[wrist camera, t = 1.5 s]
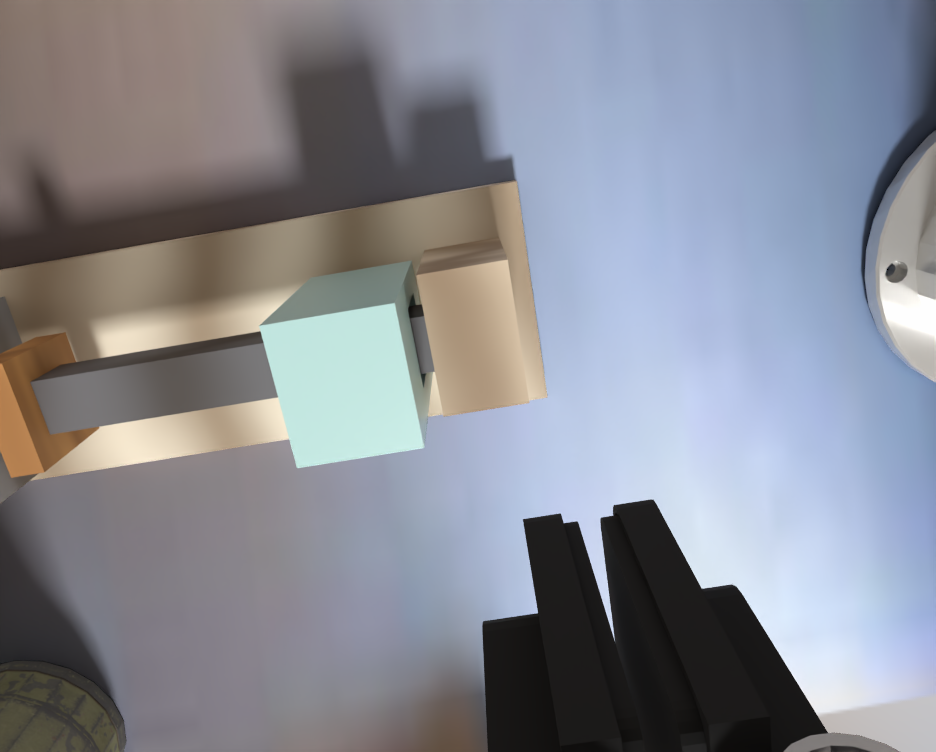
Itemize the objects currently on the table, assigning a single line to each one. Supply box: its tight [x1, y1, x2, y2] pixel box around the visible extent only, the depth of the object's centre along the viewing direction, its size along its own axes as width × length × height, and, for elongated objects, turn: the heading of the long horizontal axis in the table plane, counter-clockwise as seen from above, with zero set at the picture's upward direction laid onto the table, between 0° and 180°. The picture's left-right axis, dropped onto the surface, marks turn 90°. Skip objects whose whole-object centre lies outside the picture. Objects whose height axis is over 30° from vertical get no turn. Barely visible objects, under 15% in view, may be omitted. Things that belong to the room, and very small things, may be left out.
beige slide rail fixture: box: [0, 180, 547, 504], centre depth 26 cm, size 26×9×9 cm, turn 100°
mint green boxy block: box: [259, 260, 433, 468], centre depth 25 cm, size 4×5×8 cm
